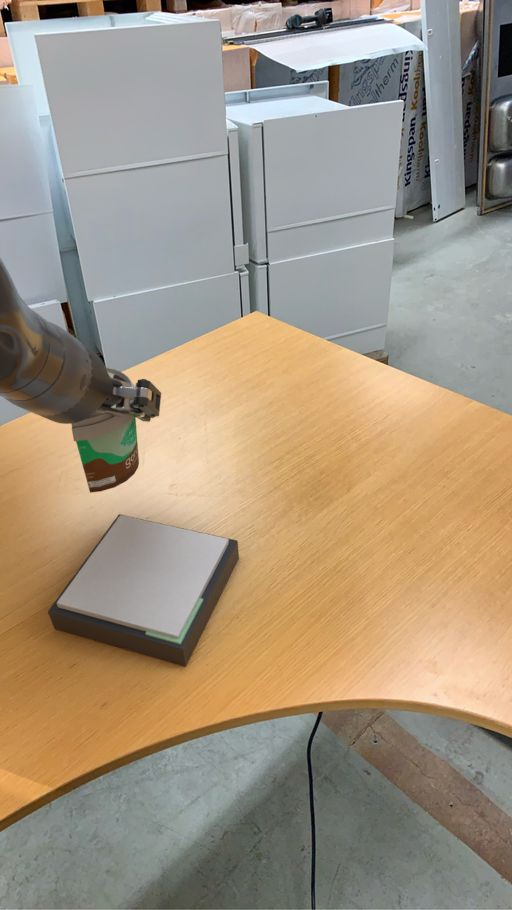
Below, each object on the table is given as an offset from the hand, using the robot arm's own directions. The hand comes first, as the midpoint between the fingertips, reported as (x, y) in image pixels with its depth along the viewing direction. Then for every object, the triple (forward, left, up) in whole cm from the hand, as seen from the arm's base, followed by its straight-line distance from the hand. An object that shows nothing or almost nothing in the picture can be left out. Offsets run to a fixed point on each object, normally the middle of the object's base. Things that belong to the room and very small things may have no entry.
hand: (116, 410), depth 73 cm
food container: (0, -2, -7) cm, 7 cm away
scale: (+6, -9, -19) cm, 21 cm away
